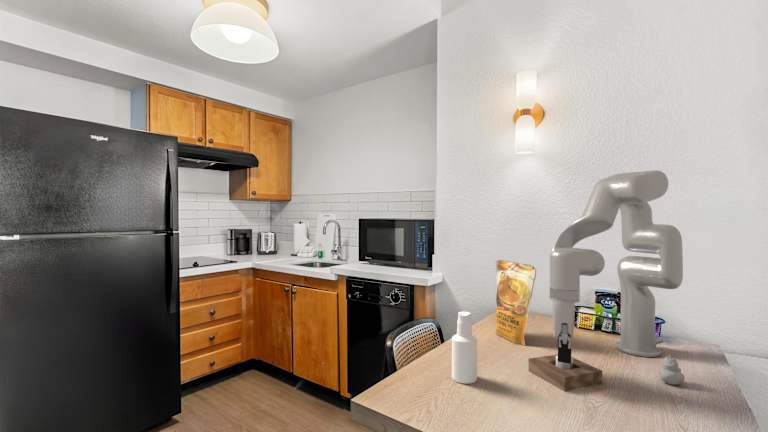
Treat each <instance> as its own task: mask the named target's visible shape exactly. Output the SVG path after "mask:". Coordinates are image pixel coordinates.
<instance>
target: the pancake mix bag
mask: <svg viewBox="0 0 768 432" xmlns="http://www.w3.org/2000/svg"><path fill="white" fill-rule="evenodd" d="M495 266H496V267H495V270H496V271H495V313H496V315H495V328H494V329H495V330H494V331H495V334H496V335H497V336H498V337H501V338H502V339H504V340H507V341H509V342H510V343H513V344H515V345H522V346H525V345H526V341H525V332H526V329H527V324H528V317H529V313H530V312H529V310H530V306H531V301H532V296H533V290H534V285H535V280H536V277H537V269H536V268H535V267H534V265H531V264H525V263H519V262H515V261H509V260H502V259H498V260H496V261H495Z"/></svg>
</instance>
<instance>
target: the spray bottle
mask: <svg viewBox="0 0 768 432" xmlns="http://www.w3.org/2000/svg"><path fill="white" fill-rule="evenodd" d="M457 317H458V318H457V322H456V324H457V325H456V334H454V335H452V337H451V378H452V380H453V381H454V382H456V383H460V384H464V385H465V384H466V385H467V384H474V383H476V381H477V380H478V338H477V337H476V336H474V335H473V327H472V322H473V321H472V313H471V312H469V311H458V313H457Z"/></svg>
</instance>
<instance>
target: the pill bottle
mask: <svg viewBox="0 0 768 432" xmlns="http://www.w3.org/2000/svg"><path fill="white" fill-rule="evenodd" d="M556 355H557V354H556ZM573 358H574V357H573ZM573 358H572V356H571V364H568V363H562V362H558V355H557V356H556V366H557V367H559V368H561V369H563V370H569V369H573Z"/></svg>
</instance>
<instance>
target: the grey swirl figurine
mask: <svg viewBox="0 0 768 432" xmlns="http://www.w3.org/2000/svg"><path fill="white" fill-rule="evenodd" d="M662 362H663V363H662V365H663V367H660V368H659V369H658V375H659V379H660V380H661V381H663V382H664V383H666V384H669V385H672V386H673V385H674V386H675V385H679V384H682V383H684V382H685V375H684V373H682V369H681V368H680V367H679V362H678V361H677V359H676V358H675V357H673V358H672V355H671V354H669V355H667V356H666V357H665V358H664V360H663V361H662Z"/></svg>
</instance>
